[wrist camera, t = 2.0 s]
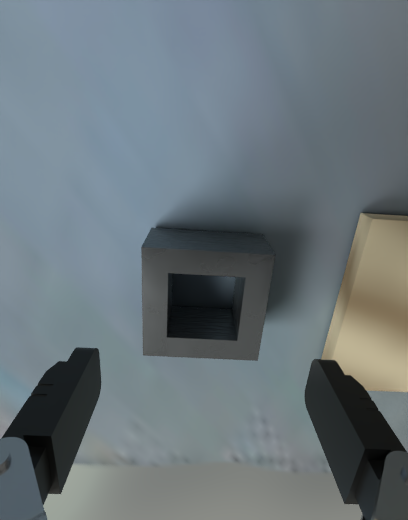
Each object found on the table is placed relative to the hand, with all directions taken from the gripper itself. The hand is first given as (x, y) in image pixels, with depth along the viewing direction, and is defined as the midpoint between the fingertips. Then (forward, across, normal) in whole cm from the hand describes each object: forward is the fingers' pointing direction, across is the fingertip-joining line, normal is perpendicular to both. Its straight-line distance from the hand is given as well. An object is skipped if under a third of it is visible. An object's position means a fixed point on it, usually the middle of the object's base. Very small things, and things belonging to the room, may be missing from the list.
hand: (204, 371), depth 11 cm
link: (+7, 0, -1) cm, 7 cm away
